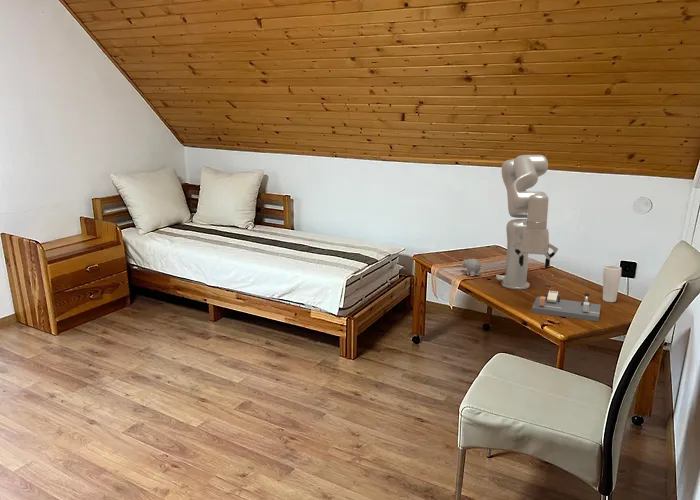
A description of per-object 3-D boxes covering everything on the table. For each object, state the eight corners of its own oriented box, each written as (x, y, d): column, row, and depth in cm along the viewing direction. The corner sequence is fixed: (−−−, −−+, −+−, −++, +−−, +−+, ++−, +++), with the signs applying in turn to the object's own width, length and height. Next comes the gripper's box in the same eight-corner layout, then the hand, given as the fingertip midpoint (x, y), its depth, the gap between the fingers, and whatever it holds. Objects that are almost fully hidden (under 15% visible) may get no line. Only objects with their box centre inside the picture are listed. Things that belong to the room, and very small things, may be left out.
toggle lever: (583, 302, 220) (584, 291, 221) (583, 303, 222) (584, 292, 223) (588, 303, 220) (589, 292, 220) (588, 304, 221) (589, 292, 222)
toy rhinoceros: (469, 270, 279) (470, 254, 277) (483, 276, 268) (483, 259, 266) (457, 271, 277) (458, 255, 274) (470, 278, 266) (471, 261, 264)
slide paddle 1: (539, 305, 220) (539, 298, 219) (540, 303, 223) (540, 296, 222) (544, 306, 219) (544, 299, 218) (545, 303, 222) (545, 296, 221)
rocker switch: (546, 301, 224) (546, 299, 224) (549, 292, 230) (549, 290, 229) (555, 302, 223) (556, 300, 222) (558, 293, 228) (558, 291, 228)
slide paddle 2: (582, 311, 213) (583, 304, 212) (583, 308, 215) (584, 301, 215) (588, 312, 212) (589, 304, 211) (588, 309, 215) (589, 302, 214)
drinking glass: (603, 303, 229) (606, 269, 225) (598, 297, 235) (602, 264, 232) (620, 303, 228) (624, 269, 224) (615, 298, 234) (618, 265, 231)
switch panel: (531, 312, 220) (532, 300, 219) (536, 300, 233) (537, 290, 232) (598, 321, 209) (599, 310, 208) (600, 309, 222) (601, 298, 221)
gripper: (512, 225, 216) (510, 266, 220) (558, 228, 208) (555, 271, 212) (516, 222, 222) (513, 262, 226) (560, 225, 215) (557, 266, 219)
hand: (533, 266), depth 219 cm, fingers open, 9 cm apart
